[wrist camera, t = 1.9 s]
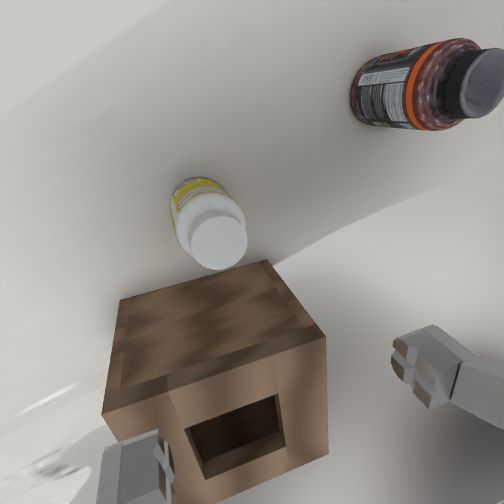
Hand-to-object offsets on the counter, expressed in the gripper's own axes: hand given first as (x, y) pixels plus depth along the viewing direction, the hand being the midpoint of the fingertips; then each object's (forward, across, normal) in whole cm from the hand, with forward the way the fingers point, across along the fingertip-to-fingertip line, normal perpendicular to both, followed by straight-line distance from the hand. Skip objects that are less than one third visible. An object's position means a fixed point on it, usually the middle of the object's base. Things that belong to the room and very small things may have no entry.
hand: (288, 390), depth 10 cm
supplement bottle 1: (+22, 0, 0) cm, 22 cm away
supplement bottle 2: (+22, -19, -7) cm, 30 cm away
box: (+22, +2, +16) cm, 27 cm away
